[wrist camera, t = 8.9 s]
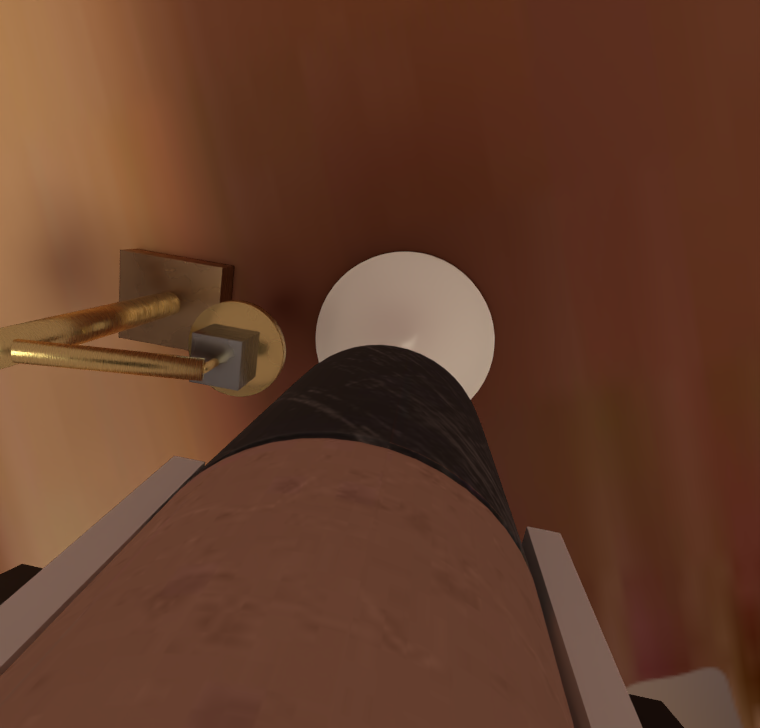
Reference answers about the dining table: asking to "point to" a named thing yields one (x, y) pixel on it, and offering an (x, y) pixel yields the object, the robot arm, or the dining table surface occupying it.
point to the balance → (162, 328)
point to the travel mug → (315, 579)
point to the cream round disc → (411, 314)
